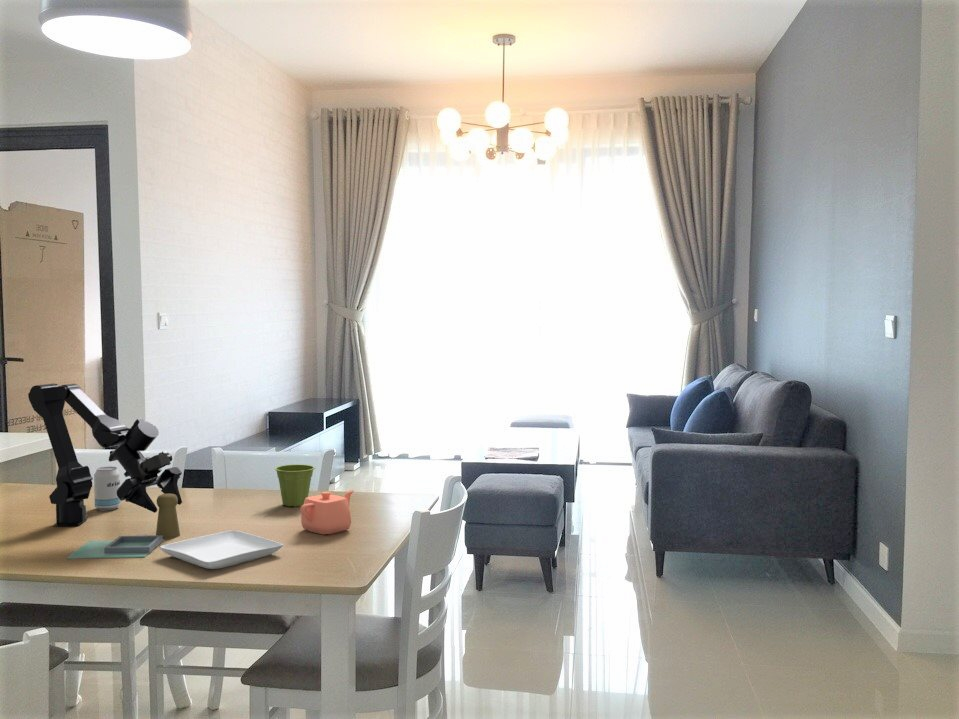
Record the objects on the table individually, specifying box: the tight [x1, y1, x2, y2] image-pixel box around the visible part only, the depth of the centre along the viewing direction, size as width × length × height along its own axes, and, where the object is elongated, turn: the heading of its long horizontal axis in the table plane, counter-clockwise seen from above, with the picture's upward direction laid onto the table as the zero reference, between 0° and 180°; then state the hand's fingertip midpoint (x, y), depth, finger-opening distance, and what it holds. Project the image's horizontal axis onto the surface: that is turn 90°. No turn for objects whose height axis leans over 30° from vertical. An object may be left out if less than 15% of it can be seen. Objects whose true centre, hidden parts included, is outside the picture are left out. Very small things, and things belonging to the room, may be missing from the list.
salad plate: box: [159, 529, 284, 570], centre depth 205 cm, size 21×21×3 cm
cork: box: [155, 493, 181, 540], centre depth 223 cm, size 6×6×11 cm
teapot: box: [299, 489, 355, 536], centre depth 230 cm, size 12×18×10 cm, turn 139°
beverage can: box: [93, 466, 121, 512], centre depth 251 cm, size 7×7×12 cm
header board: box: [66, 534, 164, 559], centre depth 210 cm, size 18×14×2 cm
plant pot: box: [274, 464, 316, 507], centre depth 258 cm, size 12×12×11 cm
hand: (168, 507), depth 222 cm, fingers open, 9 cm apart
